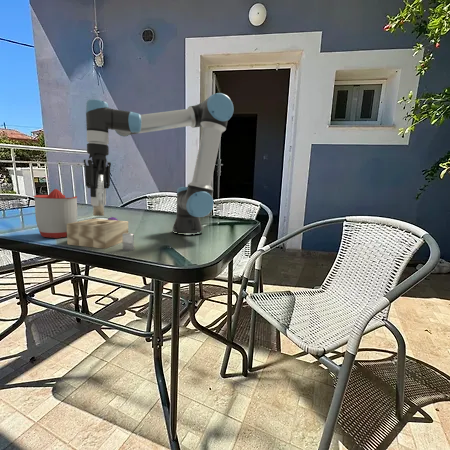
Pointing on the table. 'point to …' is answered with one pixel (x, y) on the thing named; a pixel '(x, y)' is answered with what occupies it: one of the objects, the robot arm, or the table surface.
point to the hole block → (96, 232)
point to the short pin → (127, 241)
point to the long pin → (100, 197)
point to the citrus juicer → (55, 213)
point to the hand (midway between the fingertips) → (98, 204)
